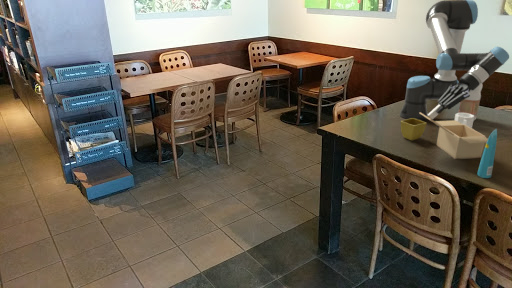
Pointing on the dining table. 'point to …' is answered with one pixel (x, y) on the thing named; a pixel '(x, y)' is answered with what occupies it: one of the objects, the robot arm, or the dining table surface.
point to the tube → (488, 156)
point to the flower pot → (412, 128)
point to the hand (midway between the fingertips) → (429, 117)
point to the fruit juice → (471, 102)
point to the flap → (436, 123)
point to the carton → (460, 140)
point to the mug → (465, 119)
